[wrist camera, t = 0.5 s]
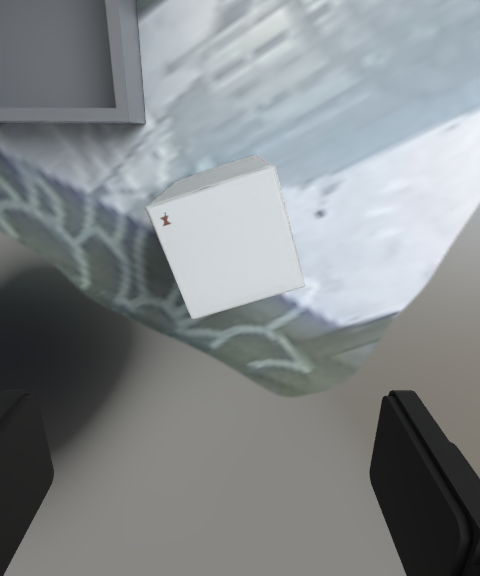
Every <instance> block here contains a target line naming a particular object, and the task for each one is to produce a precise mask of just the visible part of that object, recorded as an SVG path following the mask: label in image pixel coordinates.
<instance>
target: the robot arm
mask: <svg viewBox="0 0 480 576" xmlns="http://www.w3.org/2000/svg"><path fill="white" fill-rule="evenodd" d="M53 476H54V469H53V465H52V461H51V456H50V452H49V447H48V443H47V439H46V434H45V430H44V426H43V421H42V417H41V412H40V408H39V403H38V399H37V397H36V396H33V395H32V394H31V392H30V391H29V390H4V391H3V392H2V393H0V576H3V575H4V573H5V571H6V569H7V568H8V565H9V563H10V562H11V560H12V558H13V556H14V554H15V552H16V550H17V549H18V547H19V545H20V543H21V541H22V539H23V537H24V535H25V533H26V531H27V529H28V528H29V526H30V524H31V522H32V520H33V518H34V516H35V514H36V513H37V511H38V509H39V507H40V505H41V503H42V501H43V499H44V498H45V496H46V494H47V492H48V490H49V488H50V486H51V484H52V481H53ZM370 480H371V484H372V487H373V490H374V492H375V495H376V497H377V500H378V503H379V505H380V508H381V510H382V513H383V516H384V518H385V521H386V523H387V526H388V528H389V531H390V534H391V536H392V539H393V542H394V544H395V547H396V549H397V552H398V555H399V557H400V559H401V562H402V564H403V567H404V570H405V573H406V575H407V576H480V479H479V477H478V476H477V474H476V473H475V471H474V470H473V469H472V467H471V466H470V464H469V463H468V462H467V460H466V459H465V457H464V456H463V455H462V453H461V452H460V450H459V449H458V448H457V447H456V446H455V444H453V443H451V442H449V440H448V439H447V437H446V436H445V434H444V433H443V432H442V430H441V429H440V427H439V426H438V424H437V423H436V422H435V420H434V419H433V417H432V416H431V414H430V413H429V412H428V410H427V408H426V407H425V406H424V404H423V403H422V401H421V400H420V398H419V397H418V396H417V394H416V393H415V392H414V391H411V390H406V391H405V390H404V391H403V390H401V391H400V390H396V391H395V390H394V391H393V390H392V391H390V393H389V395H388V396H384V397H383V399H382V404H381V409H380V415H379V421H378V427H377V432H376V437H375V443H374V449H373V454H372V460H371V466H370Z"/></svg>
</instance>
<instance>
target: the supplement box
mask: <svg viewBox="0 0 480 576" xmlns="http://www.w3.org/2000/svg"><path fill="white" fill-rule="evenodd" d="M145 209H146V211H147V214H148V216H149V218H150V221H151V223H152V225H153V228H154V230H155V232H156V235H157V237H158V239H159V242H160V244H161V246H162V249H163V251H164V253H165V256H166V258H167V260H168V263H169V265H170V267H171V270H172V272H173V275H174V277H175V279H176V282H177V284H178V287H179V289H180V292H181V294H182V297H183V299H184V301H185V304H186V306H187V309H188V311H189V314H190V316H191V318H192V319H197V318H200V317H204V316H207V315H211V314H214V313H218V312H221V311H224V310H228V309H231V308H234V307H238V306H241V305H245V304H248V303H251V302H255V301H258V300H261V299H265V298H268V297H271V296H275V295H278V294H281V293H285V292H288V291H291V290H295V289H298V288H302V287H304V286H305V284H304V280H303V276H302V272H301V268H300V264H299V260H298V256H297V252H296V248H295V244H294V239H293V235H292V231H291V227H290V223H289V219H288V215H287V211H286V207H285V202H284V198H283V194H282V190H281V186H280V182H279V178H278V174H277V170H276V167H275V166H274V165H272V164H270V163H268V162H267V161H265V160H264V159H263V158H261V157H259V156H258V155H253V156H249V157H246V158H243V159H240V160H236V161H233V162H230V163H227V164H224V165H220V166H217V167H214V168H212V169H209V170H206V171H203V172H200V173H198V174H195V175H192V176H189V177H186V178H184V179H181V180H178V181H177V182H175V183H174V184H173V185H172V186H171V187H169V188H168V189H167V190H166V191H164V192H163V193H162V194H161V195H159V196H158V197H157V198H156V199H154V200H153V201H152V202H151V203H150V204H148V205H147V206H146V208H145Z"/></svg>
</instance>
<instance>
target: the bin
mask: <svg viewBox="0 0 480 576" xmlns="http://www.w3.org/2000/svg"><path fill="white" fill-rule="evenodd" d="M0 123H96V124H146V120H145V107H144V94H143V81H142V69H141V56H140V43H139V30H138V17H137V4H136V0H0Z"/></svg>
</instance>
